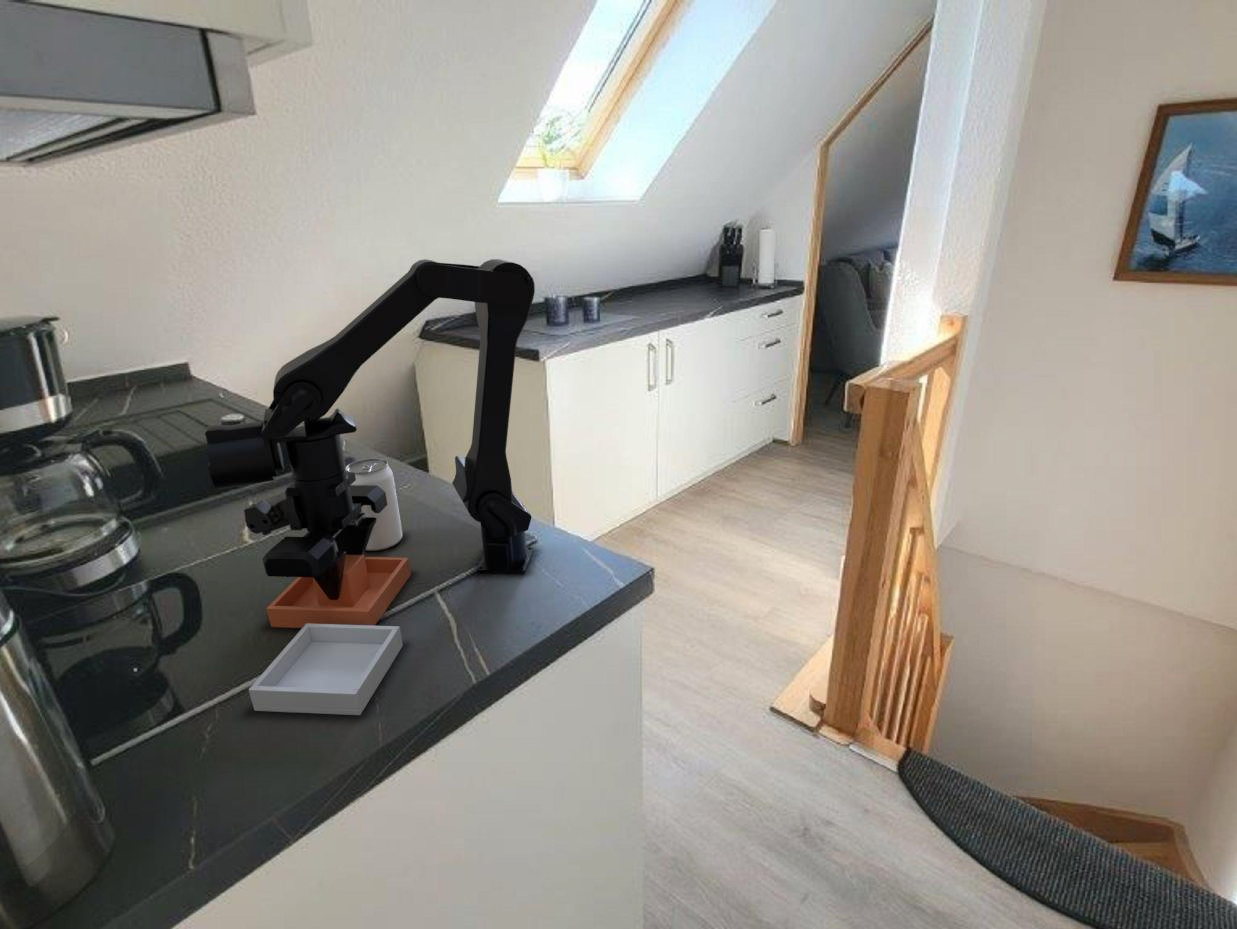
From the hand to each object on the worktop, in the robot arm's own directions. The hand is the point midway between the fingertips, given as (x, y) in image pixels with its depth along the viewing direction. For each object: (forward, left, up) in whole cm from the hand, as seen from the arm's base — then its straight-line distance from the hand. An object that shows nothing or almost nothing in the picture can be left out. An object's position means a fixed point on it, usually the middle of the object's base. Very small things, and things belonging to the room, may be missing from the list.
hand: (343, 588), depth 81 cm
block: (0, 0, -1) cm, 1 cm away
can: (-15, -2, -2) cm, 15 cm away
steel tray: (+14, +5, -2) cm, 15 cm away
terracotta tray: (0, 0, -2) cm, 2 cm away
